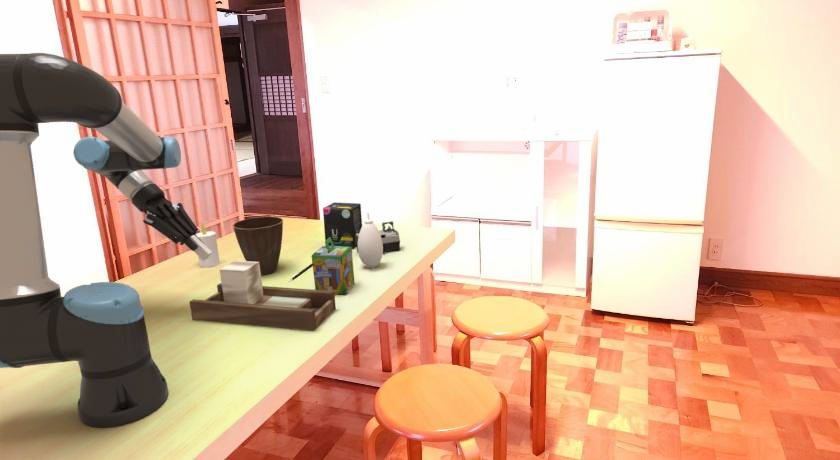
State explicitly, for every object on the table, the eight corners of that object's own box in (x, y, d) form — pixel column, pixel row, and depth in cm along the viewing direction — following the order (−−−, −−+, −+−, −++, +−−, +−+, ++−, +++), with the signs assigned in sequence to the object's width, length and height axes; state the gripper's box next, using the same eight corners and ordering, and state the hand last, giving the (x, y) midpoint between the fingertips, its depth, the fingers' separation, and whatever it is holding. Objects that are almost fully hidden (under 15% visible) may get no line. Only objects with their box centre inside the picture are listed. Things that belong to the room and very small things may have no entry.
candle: (224, 261, 186) (218, 218, 182) (212, 268, 180) (205, 223, 176) (208, 260, 187) (201, 217, 183) (195, 267, 181) (188, 223, 177)
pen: (287, 282, 165) (287, 279, 164) (316, 262, 182) (316, 258, 182) (290, 283, 164) (290, 279, 164) (319, 262, 182) (318, 258, 182)
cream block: (249, 308, 139) (244, 271, 136) (224, 306, 141) (219, 269, 138) (263, 297, 145) (259, 261, 143) (240, 296, 147) (235, 260, 144)
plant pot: (230, 278, 170) (223, 228, 165) (255, 262, 184) (249, 215, 179) (274, 280, 166) (268, 229, 162) (296, 264, 180) (291, 216, 176)
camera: (360, 258, 183) (358, 229, 181) (355, 252, 190) (353, 224, 188) (403, 252, 188) (402, 224, 185) (397, 246, 195) (395, 219, 192)
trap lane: (313, 330, 132) (311, 311, 130) (192, 319, 141) (189, 301, 139) (335, 308, 144) (334, 291, 142) (222, 299, 153) (220, 283, 151)
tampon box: (325, 248, 196) (321, 207, 192) (336, 240, 204) (333, 202, 200) (353, 249, 193) (350, 208, 189) (363, 241, 201) (361, 202, 197)
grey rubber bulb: (387, 268, 172) (383, 212, 167) (363, 272, 170) (359, 216, 165) (379, 261, 179) (376, 207, 174) (356, 265, 177) (352, 210, 172)
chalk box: (345, 295, 153) (341, 244, 149) (314, 294, 154) (309, 243, 150) (355, 283, 161) (352, 234, 157) (326, 282, 163) (321, 234, 159)
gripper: (153, 196, 150) (215, 257, 150) (116, 208, 138) (184, 274, 138) (166, 177, 147) (229, 239, 148) (130, 187, 135) (199, 255, 136)
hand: (207, 256), depth 143 cm, fingers closed
